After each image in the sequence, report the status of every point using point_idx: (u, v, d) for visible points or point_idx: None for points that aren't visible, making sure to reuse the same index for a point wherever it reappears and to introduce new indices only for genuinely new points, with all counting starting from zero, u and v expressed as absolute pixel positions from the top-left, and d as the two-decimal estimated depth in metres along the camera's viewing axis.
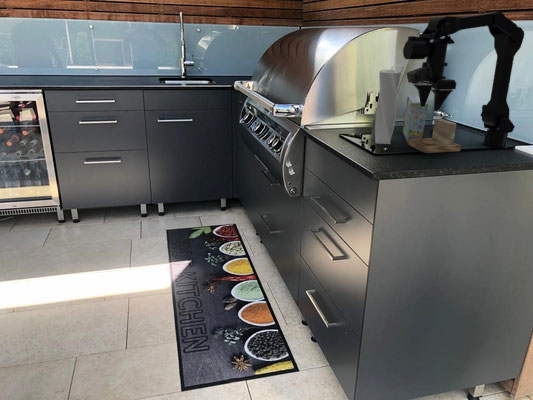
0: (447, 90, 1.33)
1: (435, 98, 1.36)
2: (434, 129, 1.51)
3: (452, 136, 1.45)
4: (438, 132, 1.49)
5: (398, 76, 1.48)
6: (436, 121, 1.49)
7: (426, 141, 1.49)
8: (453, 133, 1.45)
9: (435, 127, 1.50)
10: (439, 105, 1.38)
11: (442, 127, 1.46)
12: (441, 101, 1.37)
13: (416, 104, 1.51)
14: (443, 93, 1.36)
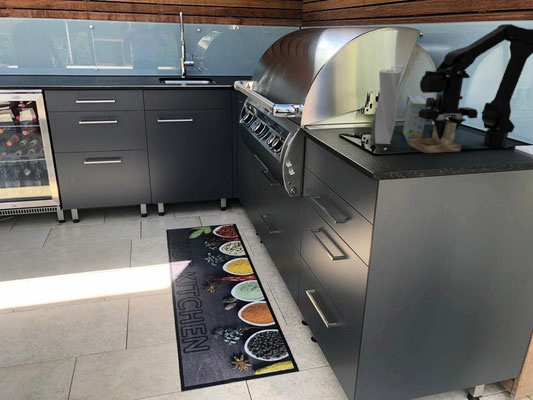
0: (435, 119, 1.44)
1: None
2: (434, 129, 1.51)
3: (452, 136, 1.45)
4: None
5: (398, 76, 1.48)
6: None
7: (426, 141, 1.49)
8: (453, 133, 1.45)
9: (435, 127, 1.50)
10: (439, 133, 1.47)
11: None
12: (439, 130, 1.46)
13: (416, 104, 1.51)
14: (440, 123, 1.45)
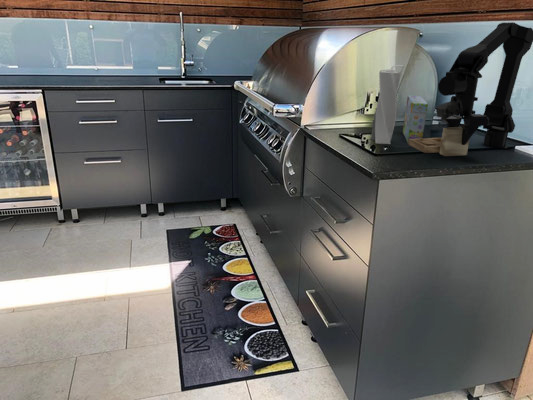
0: None
1: (463, 132, 1.35)
2: (449, 139, 1.38)
3: None
4: (456, 141, 1.39)
5: (398, 76, 1.48)
6: (452, 131, 1.37)
7: (426, 141, 1.49)
8: None
9: (450, 137, 1.38)
10: (467, 139, 1.36)
11: None
12: (469, 135, 1.36)
13: (416, 104, 1.51)
14: (471, 127, 1.34)
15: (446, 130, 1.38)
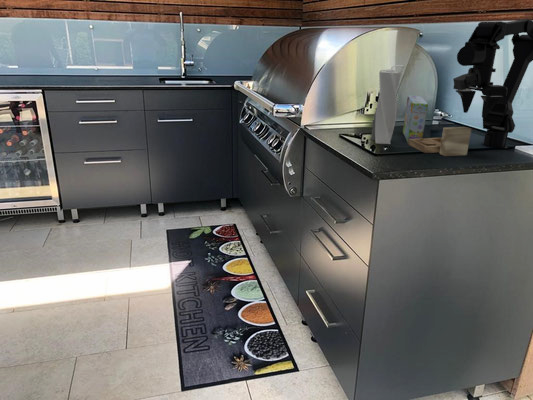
0: (498, 96, 1.31)
1: (484, 104, 1.34)
2: (449, 139, 1.38)
3: None
4: (456, 141, 1.39)
5: (398, 76, 1.48)
6: (452, 131, 1.37)
7: (426, 141, 1.49)
8: None
9: (450, 137, 1.38)
10: (487, 111, 1.35)
11: (462, 134, 1.38)
12: (490, 107, 1.34)
13: (416, 104, 1.51)
14: (492, 99, 1.33)
15: (446, 130, 1.38)
